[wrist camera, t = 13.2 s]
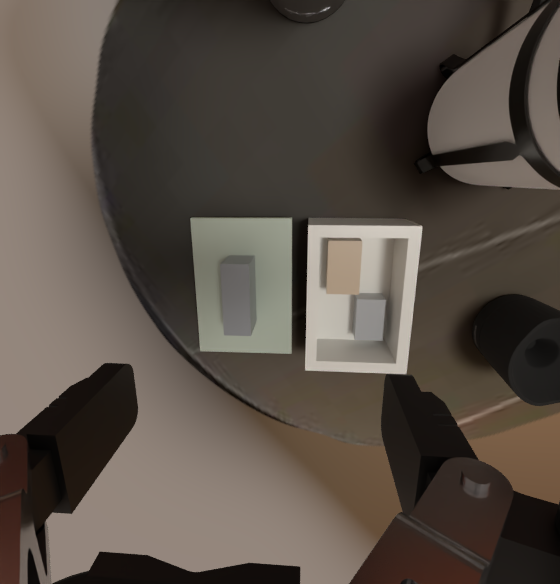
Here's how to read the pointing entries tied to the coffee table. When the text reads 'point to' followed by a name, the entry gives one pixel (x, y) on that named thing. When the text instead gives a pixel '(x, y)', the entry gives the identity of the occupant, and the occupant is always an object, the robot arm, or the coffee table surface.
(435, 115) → the coffee press
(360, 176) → the coffee table surface
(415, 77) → the coffee table surface
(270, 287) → the lid
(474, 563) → the robot arm
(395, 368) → the storage box
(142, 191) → the coffee table surface
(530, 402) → the pen holder
